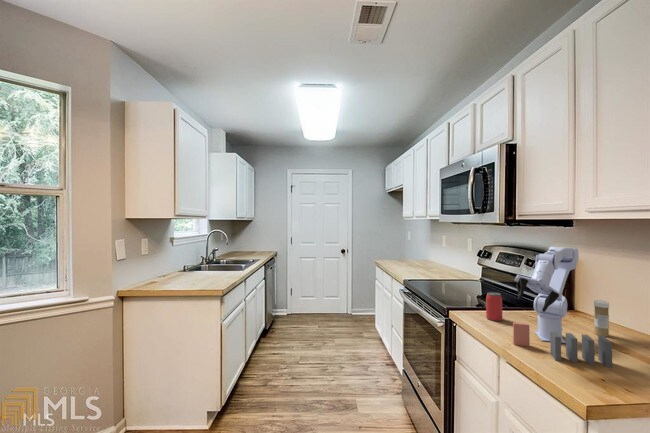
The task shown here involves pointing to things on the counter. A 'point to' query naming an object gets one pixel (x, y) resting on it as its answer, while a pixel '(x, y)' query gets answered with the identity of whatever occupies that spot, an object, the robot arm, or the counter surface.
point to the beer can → (494, 306)
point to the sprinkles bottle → (601, 318)
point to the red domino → (521, 334)
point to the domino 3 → (588, 350)
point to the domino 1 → (555, 346)
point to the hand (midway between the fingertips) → (531, 303)
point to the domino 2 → (571, 348)
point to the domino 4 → (605, 351)
